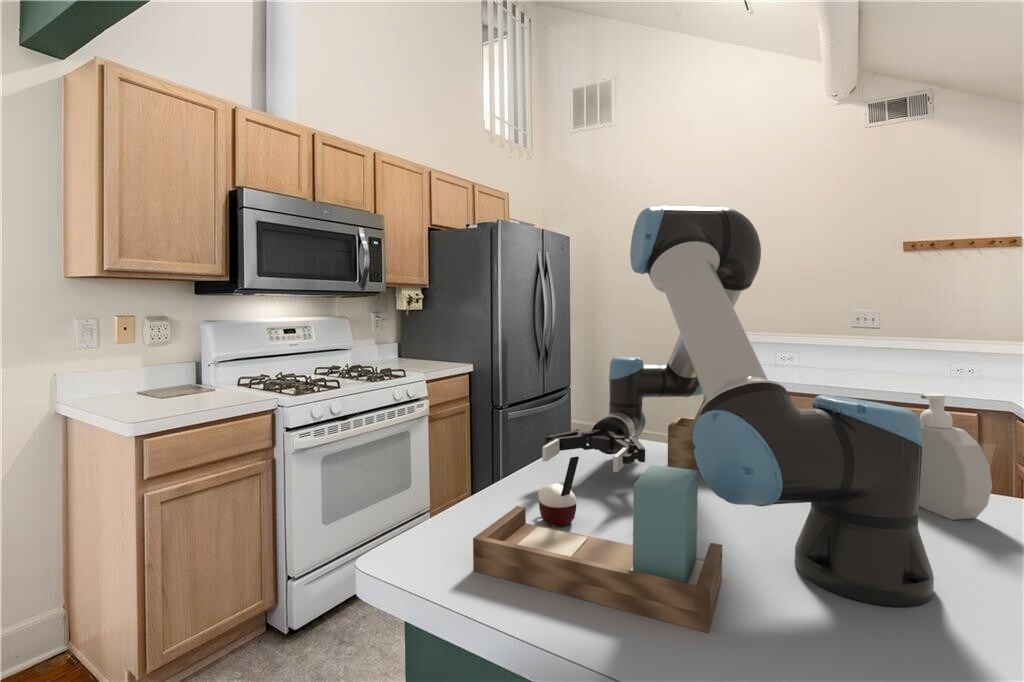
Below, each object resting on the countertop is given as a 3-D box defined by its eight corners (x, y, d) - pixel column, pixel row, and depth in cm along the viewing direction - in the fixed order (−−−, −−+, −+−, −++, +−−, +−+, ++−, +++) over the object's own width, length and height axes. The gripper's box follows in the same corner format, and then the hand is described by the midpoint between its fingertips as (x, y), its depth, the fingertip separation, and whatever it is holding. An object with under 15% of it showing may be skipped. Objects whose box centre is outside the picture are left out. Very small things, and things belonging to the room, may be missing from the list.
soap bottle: (879, 492, 100) (883, 388, 99) (904, 490, 101) (908, 387, 100) (963, 526, 85) (969, 403, 83) (991, 524, 85) (997, 402, 84)
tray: (721, 578, 69) (722, 544, 68) (708, 632, 57) (709, 592, 57) (517, 534, 83) (516, 505, 82) (473, 570, 71) (473, 538, 71)
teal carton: (696, 561, 69) (697, 470, 68) (684, 594, 61) (685, 492, 60) (648, 551, 72) (649, 464, 71) (631, 581, 64) (632, 484, 63)
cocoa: (535, 515, 91) (532, 446, 91) (571, 512, 92) (568, 443, 92) (545, 536, 82) (542, 459, 81) (585, 533, 82) (581, 456, 82)
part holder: (801, 468, 115) (802, 427, 115) (802, 483, 105) (803, 439, 105) (677, 453, 128) (677, 416, 127) (667, 466, 118) (668, 426, 117)
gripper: (671, 457, 109) (647, 490, 90) (559, 443, 120) (517, 469, 101) (672, 422, 108) (648, 447, 89) (559, 411, 120) (517, 431, 101)
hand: (578, 459), depth 95 cm, fingers open, 13 cm apart
